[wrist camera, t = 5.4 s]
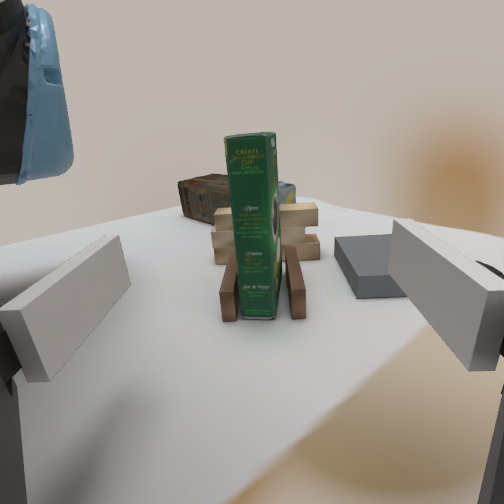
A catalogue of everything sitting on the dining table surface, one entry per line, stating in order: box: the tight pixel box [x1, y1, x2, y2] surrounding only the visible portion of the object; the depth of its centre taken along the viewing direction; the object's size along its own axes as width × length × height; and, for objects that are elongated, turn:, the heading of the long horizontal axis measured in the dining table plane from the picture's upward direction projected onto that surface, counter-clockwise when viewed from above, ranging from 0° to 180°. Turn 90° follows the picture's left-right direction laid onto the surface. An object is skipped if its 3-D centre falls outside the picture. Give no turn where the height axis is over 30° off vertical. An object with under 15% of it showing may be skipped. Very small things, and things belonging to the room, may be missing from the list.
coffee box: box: [224, 132, 282, 320], centre depth 25 cm, size 8×3×13 cm, turn 171°
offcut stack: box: [211, 202, 320, 264], centre depth 33 cm, size 11×3×5 cm, turn 88°
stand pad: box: [334, 234, 407, 298], centre depth 29 cm, size 9×9×2 cm
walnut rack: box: [219, 247, 306, 321], centre depth 27 cm, size 6×8×2 cm
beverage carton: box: [178, 174, 296, 225], centre depth 47 cm, size 8×19×7 cm, turn 43°
